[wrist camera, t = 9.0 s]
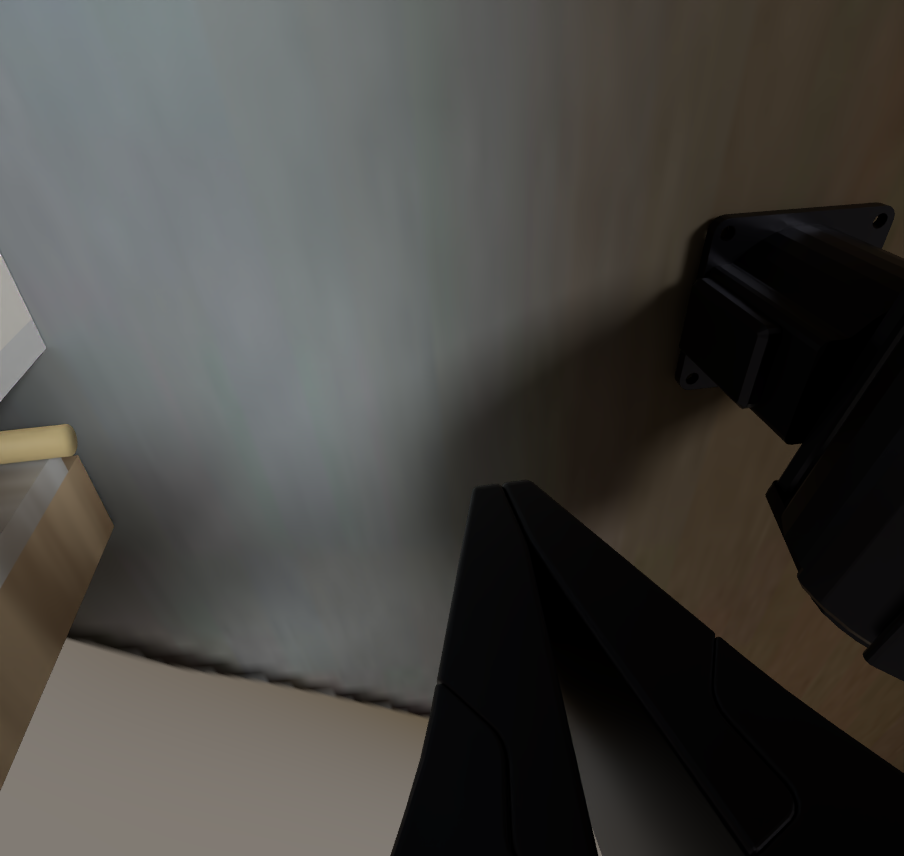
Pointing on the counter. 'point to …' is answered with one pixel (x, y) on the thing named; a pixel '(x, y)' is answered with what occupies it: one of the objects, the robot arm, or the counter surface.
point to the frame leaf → (6, 360)
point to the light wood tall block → (41, 578)
